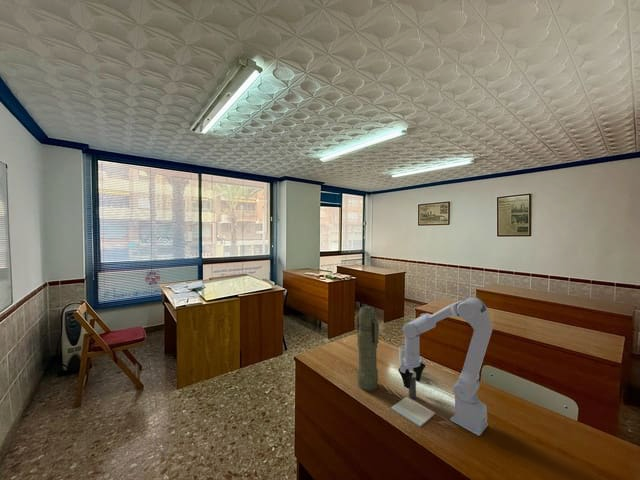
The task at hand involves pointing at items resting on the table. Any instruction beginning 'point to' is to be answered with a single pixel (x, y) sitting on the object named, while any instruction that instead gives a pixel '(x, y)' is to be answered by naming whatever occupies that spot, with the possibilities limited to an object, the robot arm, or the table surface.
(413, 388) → the cylinder
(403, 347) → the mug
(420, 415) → the notepad
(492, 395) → the table surface
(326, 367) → the table surface
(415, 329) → the robot arm
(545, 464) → the table surface
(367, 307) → the thermos
